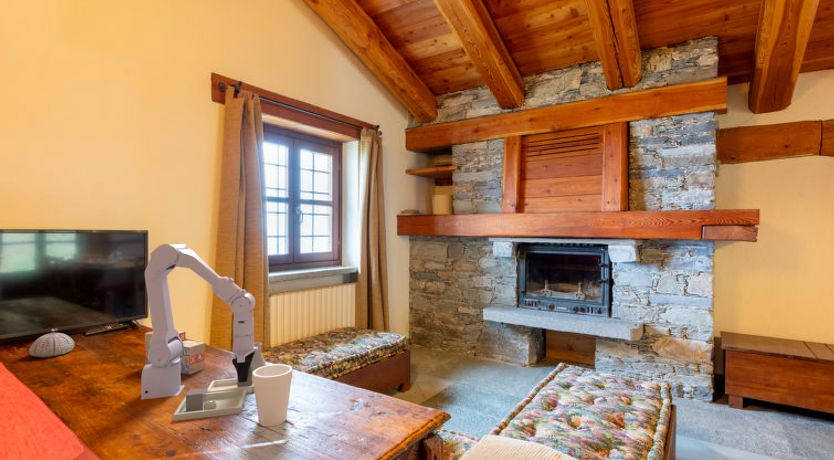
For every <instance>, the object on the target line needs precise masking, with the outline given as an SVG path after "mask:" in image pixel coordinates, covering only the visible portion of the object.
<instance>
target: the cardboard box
mask: <svg viewBox="0 0 834 460" xmlns="http://www.w3.org/2000/svg"><path fill="white" fill-rule="evenodd" d="M177 331H178V333H179V337H180V339H181V340H182V342H183V344H184V349H183V351H182V353H181V354H180V369H181V374H183V375H187V376H189V375H192V374H194V373H197V372H199V371H200V372H201V371H202V370H205V348H206V346H205V345H206V344H205V342H201V341H194V340H186V339H187V338H186V331H183V330H182V331H181V330H177ZM152 335H153V330H152V331H148V332H146V333H144V339H145V341H144V349H145V350H144V351H145V353H144V354H145V360H144V361H145V362H144V363H145V365H149V364H151V363H150V362H149V360H148V357H147V355H148V351H149V348H150V345H149V342H150V339H151V337H152Z"/></svg>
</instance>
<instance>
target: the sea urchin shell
mask: <svg viewBox="0 0 834 460" xmlns="http://www.w3.org/2000/svg"><path fill="white" fill-rule="evenodd" d="M75 343H76V342H75V341H74V340H73V338H72V337H71V336H69V335H67V334H65V333H62V332H50V333H46V334H44V335H42V336H40V337H38V338H37V339H36V340H34V342H33V343H32V344H31V345H30V347H29V350H28V352H29V354H30V355H31V356H32V357H36V358H51V357H56V356H61V355H62V356H63V355H65V354H67V353H69V352H70V351H72V350H73V349H74V347H75V346H76V345H75Z"/></svg>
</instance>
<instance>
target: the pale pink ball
mask: <svg viewBox="0 0 834 460" xmlns="http://www.w3.org/2000/svg"><path fill="white" fill-rule="evenodd" d="M210 409H216V402H215V401H213V400H209V401H207V402H206V403H205V404H204V410H210Z"/></svg>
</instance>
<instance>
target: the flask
mask: <svg viewBox="0 0 834 460" xmlns="http://www.w3.org/2000/svg"><path fill="white" fill-rule="evenodd" d="M262 345H263V343H262V342H254V347H258V350H257V351H255V354H254V356H253V360H252V362H251V366H250V367H252V366H253V371H254V370H256V369H257V368H259V367H263V366H267V364H266V361H265V359H264V356H263V353H262V352H263V351H262Z"/></svg>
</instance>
